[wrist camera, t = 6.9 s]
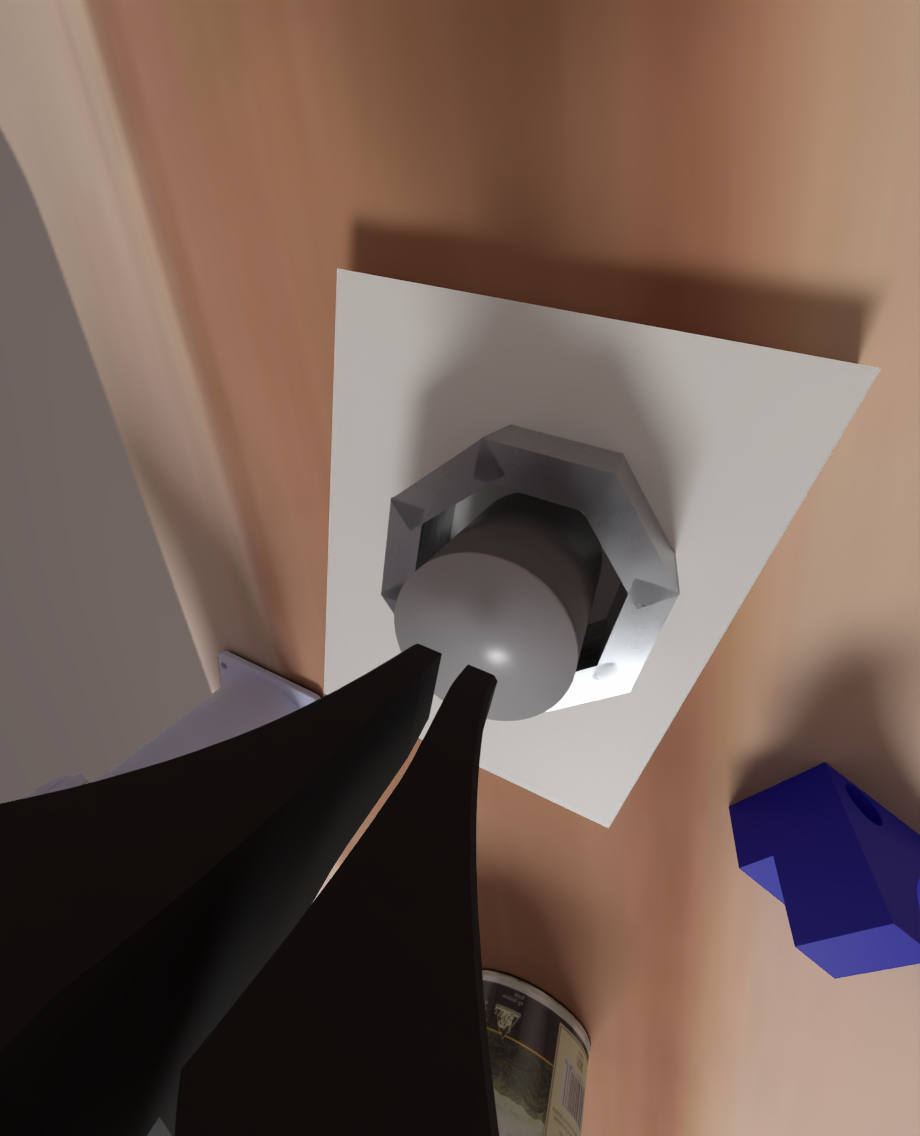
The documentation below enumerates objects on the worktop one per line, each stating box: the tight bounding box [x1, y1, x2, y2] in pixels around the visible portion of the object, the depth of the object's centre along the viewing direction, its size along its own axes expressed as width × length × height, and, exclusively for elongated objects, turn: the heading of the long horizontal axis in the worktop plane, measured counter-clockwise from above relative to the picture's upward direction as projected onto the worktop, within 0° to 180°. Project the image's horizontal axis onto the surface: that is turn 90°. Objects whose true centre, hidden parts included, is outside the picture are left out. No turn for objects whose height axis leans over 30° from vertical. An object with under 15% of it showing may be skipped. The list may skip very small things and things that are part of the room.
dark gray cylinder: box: [394, 492, 602, 721], centre depth 14 cm, size 5×5×6 cm
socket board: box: [324, 268, 881, 828], centre depth 17 cm, size 20×16×4 cm
